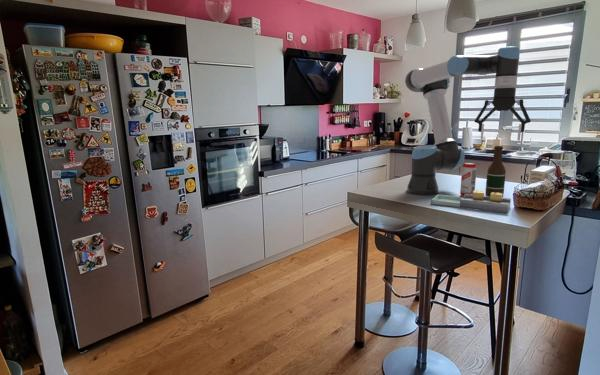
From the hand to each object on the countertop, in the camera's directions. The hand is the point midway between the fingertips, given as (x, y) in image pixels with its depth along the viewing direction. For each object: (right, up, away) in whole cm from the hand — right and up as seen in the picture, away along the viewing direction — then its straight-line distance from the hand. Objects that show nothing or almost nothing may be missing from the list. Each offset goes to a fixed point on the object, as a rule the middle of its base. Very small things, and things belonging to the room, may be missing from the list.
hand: (499, 139), depth 151 cm
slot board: (-4, -28, +4) cm, 29 cm away
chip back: (-7, -26, +5) cm, 27 cm away
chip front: (-1, -26, +1) cm, 26 cm away
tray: (-17, -27, +12) cm, 34 cm away
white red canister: (-3, -24, +23) cm, 34 cm away
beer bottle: (+9, -24, +21) cm, 33 cm away
